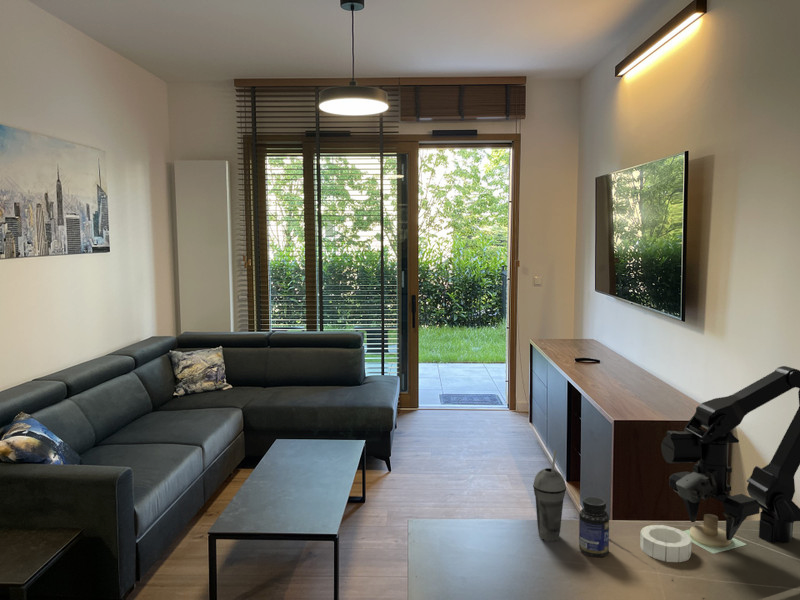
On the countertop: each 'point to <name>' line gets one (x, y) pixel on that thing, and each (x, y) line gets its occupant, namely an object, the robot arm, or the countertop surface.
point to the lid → (709, 533)
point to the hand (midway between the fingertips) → (710, 530)
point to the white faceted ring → (665, 543)
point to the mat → (713, 550)
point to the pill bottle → (594, 527)
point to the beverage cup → (549, 501)
